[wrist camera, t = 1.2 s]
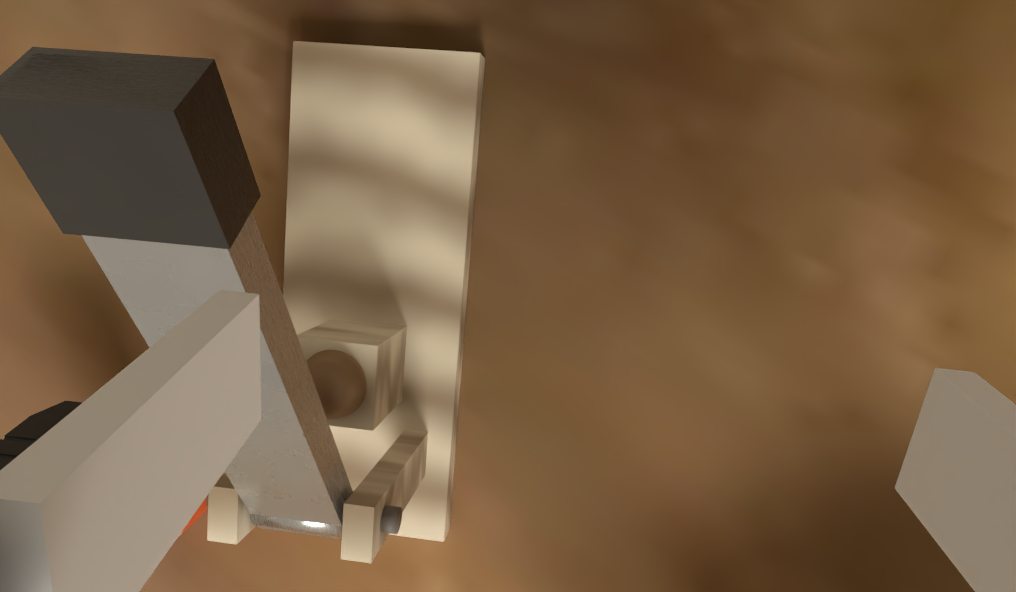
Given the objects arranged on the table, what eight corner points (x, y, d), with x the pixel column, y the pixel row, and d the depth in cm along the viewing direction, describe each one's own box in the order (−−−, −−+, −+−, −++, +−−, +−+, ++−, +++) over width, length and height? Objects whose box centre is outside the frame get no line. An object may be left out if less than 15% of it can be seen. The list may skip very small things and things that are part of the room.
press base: (449, 528, 52) (396, 649, 38) (286, 506, 53) (176, 615, 39) (485, 58, 47) (439, 0, 33) (305, 47, 48) (189, -14, 34)
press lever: (365, 502, 41) (351, 547, 39) (269, 490, 42) (252, 533, 40) (214, 59, 21) (173, 111, 19) (32, 47, 21) (-24, 96, 20)
